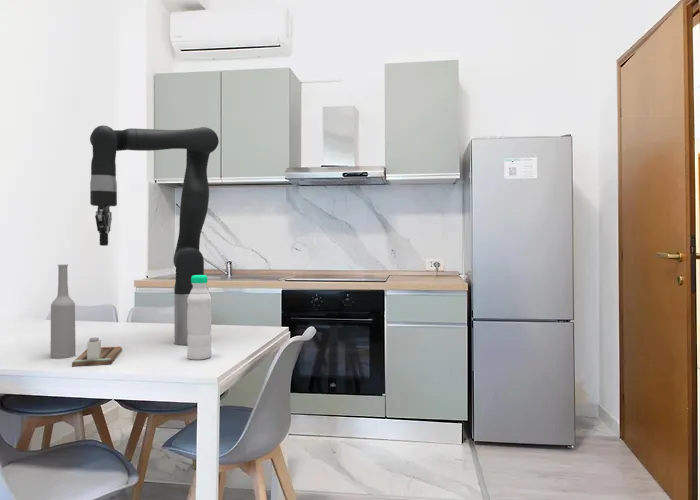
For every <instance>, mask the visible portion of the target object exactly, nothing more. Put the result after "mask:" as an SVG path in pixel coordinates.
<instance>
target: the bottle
mask: <svg viewBox="0 0 700 500" xmlns="http://www.w3.org/2000/svg"><path fill="white" fill-rule="evenodd" d="M68 266H69V265H68V264H57V270H58V271H57V272H58V275H57V276H58V277H57V278H58V280H57V282H58V283H57V284H58V285H57V296H56V298H55V299H54V300H53V301H52V302H51V304H50V358H51V359H54V358H55V359H58V360H59V359H68V358H72V357H75V356H76V302H74V300H73V299H72V298H71V296H70V295H69V286H68V284H69V282H68V280H69V279H68Z"/></svg>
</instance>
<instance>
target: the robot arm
mask: <svg viewBox="0 0 700 500" xmlns="http://www.w3.org/2000/svg"><path fill="white" fill-rule="evenodd" d="M217 134H218V133H216V132H215V131H214V130H213V129H212V128H211V127H207V126H201V127H195V128H188V129H186V128H185V129H151V128H126V129H121V130H120V129H119V130H117V129H113V128H112V127H110V126H108V125H104V124H103V125H98V126H96V127H95V128H93V130H92V132H91V134H90V137H89V141H90V144H91V146H92V158H91V161H90V162H91V163H90V182H89V187H90V188H89V189H90V190H89V192H90V194H89V197H90V199H89V200H90V202H89V203H90V206H93V207H97V211H95V215H94V218H95V222H96V230H97V232H98V234H99V246H105V247H106V246H108V245H109V234H110V231H111V228H112V220H113V217H112V216H113V215H112V214H113V213H112V211H111V210H110V207H117V206H118V184H117V182H118V181H117V177H116V176H117V167H116V166H117V164H116V158H117V152H121V151H140V152H141V151H142V152H143V151H145V152H146V151H147V152H148V151H149V152H150V151H153V152H154V151H161V150H172V149H173V150H175V149H180V150H181V149H182V150H186V163H185V164H186V166H185V172H184V177H183V183H182V184H183V185H182V190H181V197H180V208H179V222H178V223H179V230H178V237H177V238H178V239H177V243H176V246H175V247H176V248H175V250H174V253H173V254H174V255H173V260H172V261H173V262H172V263H173V264H174V267H175V282H174V291H173V292H174V303H173V304H174V305H173V306H174V308H173V309H174V315H173V316H174V318H173V319H174V320H173V321H174V324H173V325H174V327H173V328H174V336H173V338H174V344H175V345H180V346H188V344H187V336H188V329H187V309H188V303H187V298H188V296H189V294H190V291H191V290H192V288H193V285H192V283H191V277H192V276H193V275H205V274H204V273H205V260H204V256H203V254H202V252H201V251H200V245H201V243H200V241H201V232H202V231H203V228H204V227H203V226H204V224H205V221H206V218H207V214H208V209H209V201H210V200H209V199H210V187H209V181H208V163H209V159H210V155H211V153H213V152H214V151H215V150H216V149H217V148H218V146H219V141H220V140H219V136H218V135H217Z"/></svg>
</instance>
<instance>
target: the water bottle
mask: <svg viewBox="0 0 700 500" xmlns="http://www.w3.org/2000/svg"><path fill="white" fill-rule="evenodd" d="M208 281H209V278H208V276H207V275H206V274H204V275H193V276H192V277H191V283H192V285H193V288H192V290H191V291H190V294H189V296H188V298H187V303H188V309H187V329H188V336H187V344H188V345H187V347H186V348H187V351H186V352H187V353H186V355H187V356H186V357H187V358H188V359H189V360H192V361H193V360H194V361H199V360H200V361H201V360H206V359H209V358H210V357H212V334H211V333H212V332H211V331H212V296H211V295H210V293H209V290H208V288H207V284H208Z"/></svg>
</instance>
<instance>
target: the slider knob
mask: <svg viewBox="0 0 700 500" xmlns="http://www.w3.org/2000/svg"><path fill="white" fill-rule="evenodd" d="M101 347H102V340H101V339H99V337H90V338H89V340H88V341H87V344H86V350H87V360H89V359H100V358H101Z"/></svg>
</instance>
